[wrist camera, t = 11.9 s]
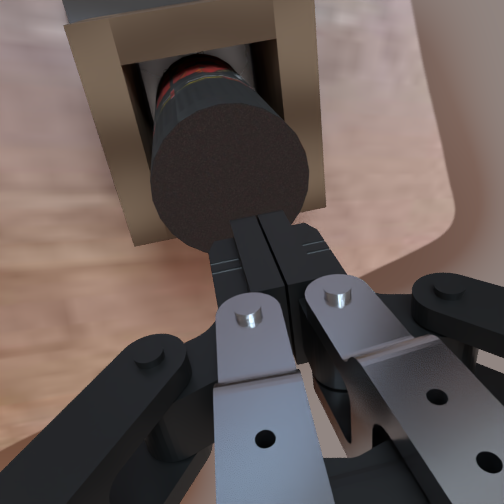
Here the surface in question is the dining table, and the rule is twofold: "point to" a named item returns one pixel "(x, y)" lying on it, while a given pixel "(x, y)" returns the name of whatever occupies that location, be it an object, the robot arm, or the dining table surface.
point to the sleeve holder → (179, 43)
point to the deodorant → (220, 153)
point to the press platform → (155, 68)
